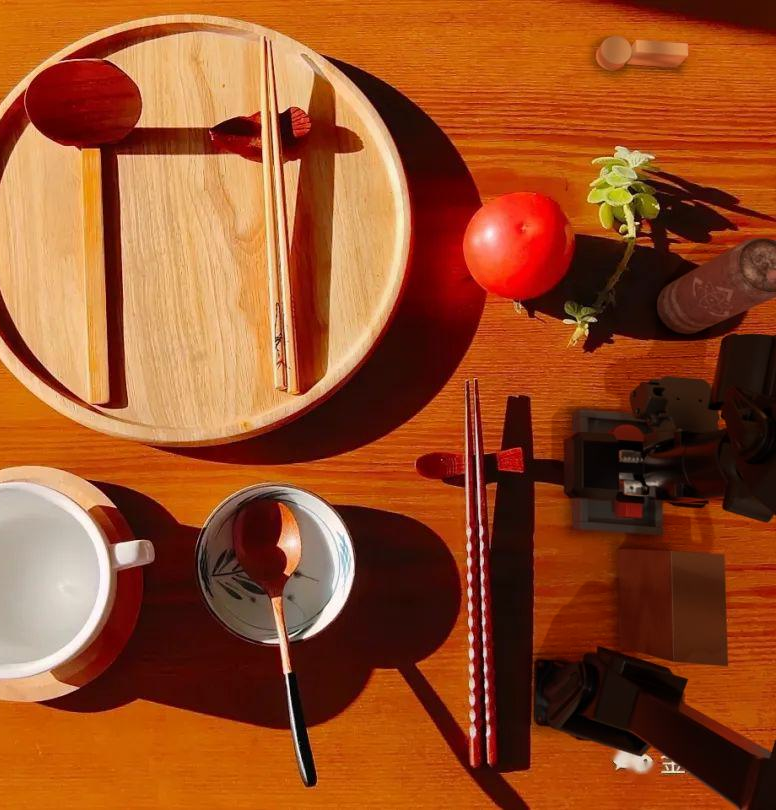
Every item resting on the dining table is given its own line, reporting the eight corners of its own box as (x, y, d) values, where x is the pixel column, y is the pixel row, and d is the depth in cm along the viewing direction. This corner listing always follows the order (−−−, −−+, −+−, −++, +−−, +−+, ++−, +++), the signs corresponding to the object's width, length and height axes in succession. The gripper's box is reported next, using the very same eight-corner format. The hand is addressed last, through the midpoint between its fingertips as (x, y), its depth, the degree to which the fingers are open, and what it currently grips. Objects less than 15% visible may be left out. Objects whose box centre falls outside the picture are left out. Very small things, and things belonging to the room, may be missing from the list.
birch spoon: (676, 48, 91) (688, 35, 89) (676, 75, 91) (688, 63, 88) (595, 42, 91) (605, 29, 89) (595, 69, 91) (605, 57, 88)
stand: (666, 650, 79) (728, 666, 69) (618, 646, 79) (673, 662, 69) (664, 552, 81) (724, 554, 71) (617, 548, 81) (671, 550, 71)
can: (708, 340, 85) (801, 302, 71) (651, 329, 85) (733, 288, 71) (713, 289, 86) (806, 241, 72) (657, 278, 86) (738, 228, 72)
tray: (653, 535, 81) (663, 535, 79) (572, 529, 81) (580, 528, 79) (651, 418, 83) (661, 415, 81) (572, 412, 83) (580, 409, 81)
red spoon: (639, 519, 79) (652, 518, 77) (604, 516, 79) (616, 515, 77) (638, 427, 81) (650, 424, 79) (604, 425, 81) (615, 421, 79)
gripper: (821, 380, 66) (709, 410, 81) (605, 363, 66) (534, 396, 81) (829, 510, 64) (713, 515, 79) (606, 493, 64) (533, 502, 80)
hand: (622, 479), depth 80 cm, fingers closed on red spoon, 1 cm apart
